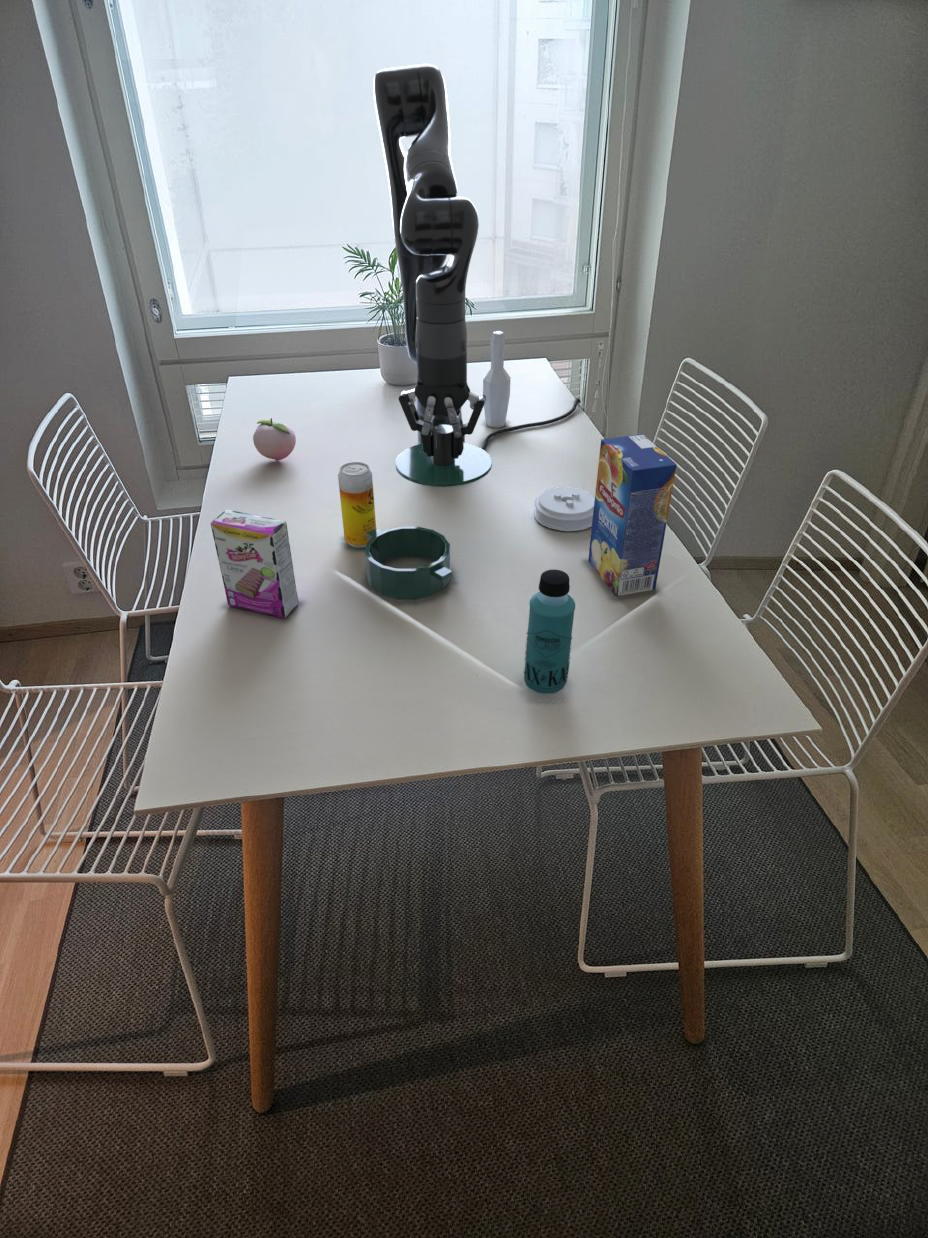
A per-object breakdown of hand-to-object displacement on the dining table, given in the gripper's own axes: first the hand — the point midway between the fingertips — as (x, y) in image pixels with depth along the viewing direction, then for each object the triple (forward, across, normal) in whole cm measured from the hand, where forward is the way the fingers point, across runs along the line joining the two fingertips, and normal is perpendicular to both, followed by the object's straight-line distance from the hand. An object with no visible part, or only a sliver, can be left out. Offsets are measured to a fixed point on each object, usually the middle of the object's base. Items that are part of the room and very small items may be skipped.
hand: (443, 455), depth 129 cm
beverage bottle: (+23, -20, +27) cm, 41 cm away
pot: (+23, +6, +2) cm, 24 cm away
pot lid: (+2, 0, 0) cm, 2 cm away
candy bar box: (+23, +28, +14) cm, 40 cm away
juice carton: (+23, -31, -5) cm, 39 cm away
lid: (+23, -20, -24) cm, 39 cm away
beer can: (+23, +18, -9) cm, 31 cm away
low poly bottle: (+23, 0, -68) cm, 72 cm away
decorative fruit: (+23, +46, -39) cm, 64 cm away
